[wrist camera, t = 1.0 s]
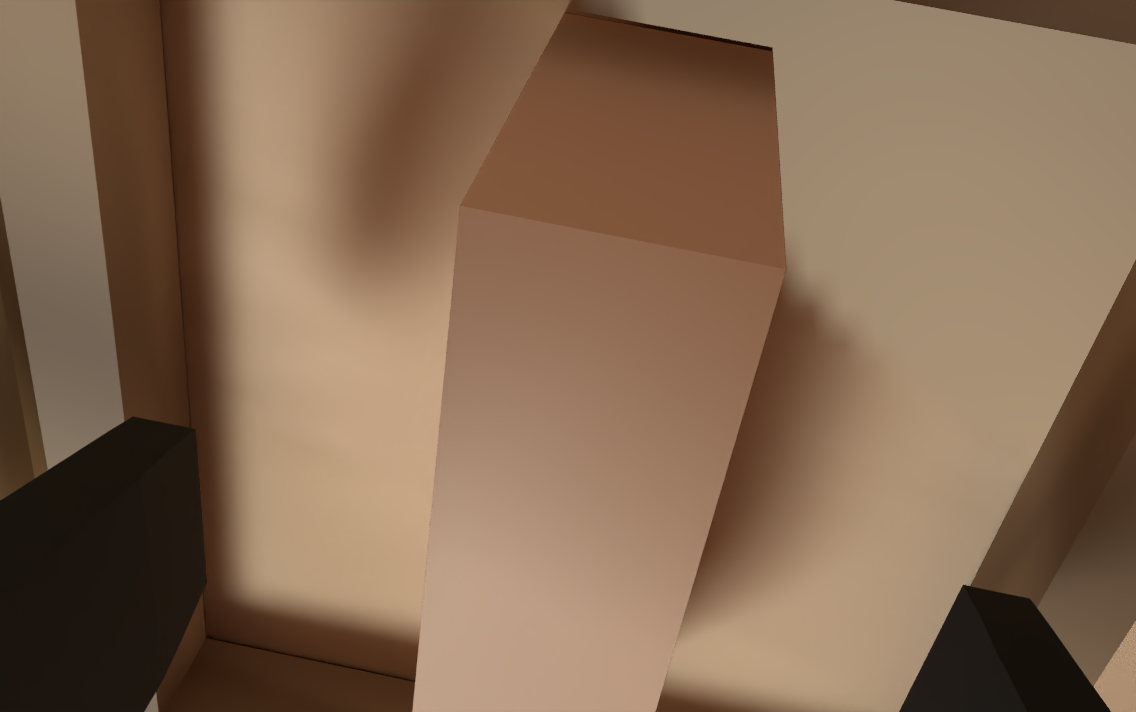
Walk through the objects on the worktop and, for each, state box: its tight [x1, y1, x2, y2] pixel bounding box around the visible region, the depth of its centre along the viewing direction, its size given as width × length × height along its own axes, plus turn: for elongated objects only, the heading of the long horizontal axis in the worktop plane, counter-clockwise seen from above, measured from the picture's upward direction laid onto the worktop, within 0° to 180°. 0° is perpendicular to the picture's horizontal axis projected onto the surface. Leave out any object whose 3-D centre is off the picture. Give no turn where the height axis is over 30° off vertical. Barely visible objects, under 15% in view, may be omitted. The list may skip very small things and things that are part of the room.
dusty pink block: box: [412, 13, 786, 712], centre depth 11 cm, size 9×2×4 cm, turn 172°
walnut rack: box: [0, 0, 1136, 712], centre depth 12 cm, size 13×19×2 cm
